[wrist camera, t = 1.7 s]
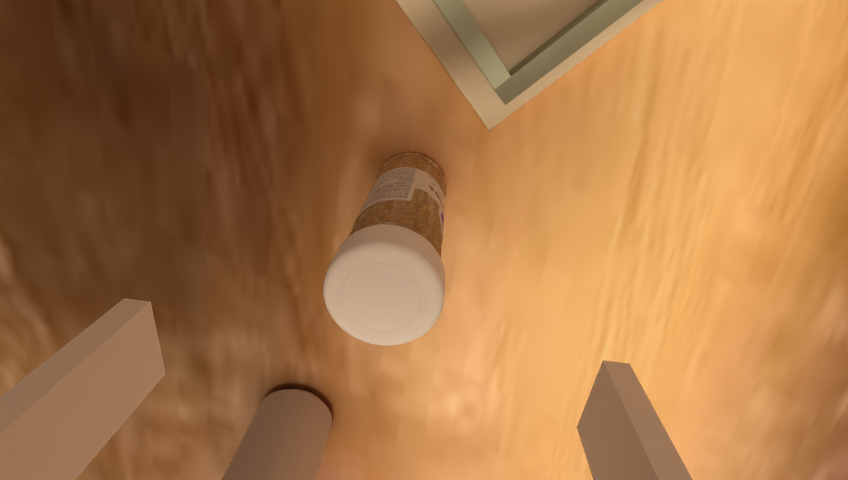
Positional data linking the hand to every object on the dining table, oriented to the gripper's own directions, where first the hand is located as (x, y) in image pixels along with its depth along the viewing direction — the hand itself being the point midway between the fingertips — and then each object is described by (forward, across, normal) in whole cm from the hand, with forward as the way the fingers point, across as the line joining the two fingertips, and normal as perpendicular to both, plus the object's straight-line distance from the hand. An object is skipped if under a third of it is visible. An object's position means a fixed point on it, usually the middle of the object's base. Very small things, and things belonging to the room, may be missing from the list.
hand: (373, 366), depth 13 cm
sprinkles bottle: (+17, 0, 0) cm, 17 cm away
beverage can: (+17, -8, -22) cm, 29 cm away
